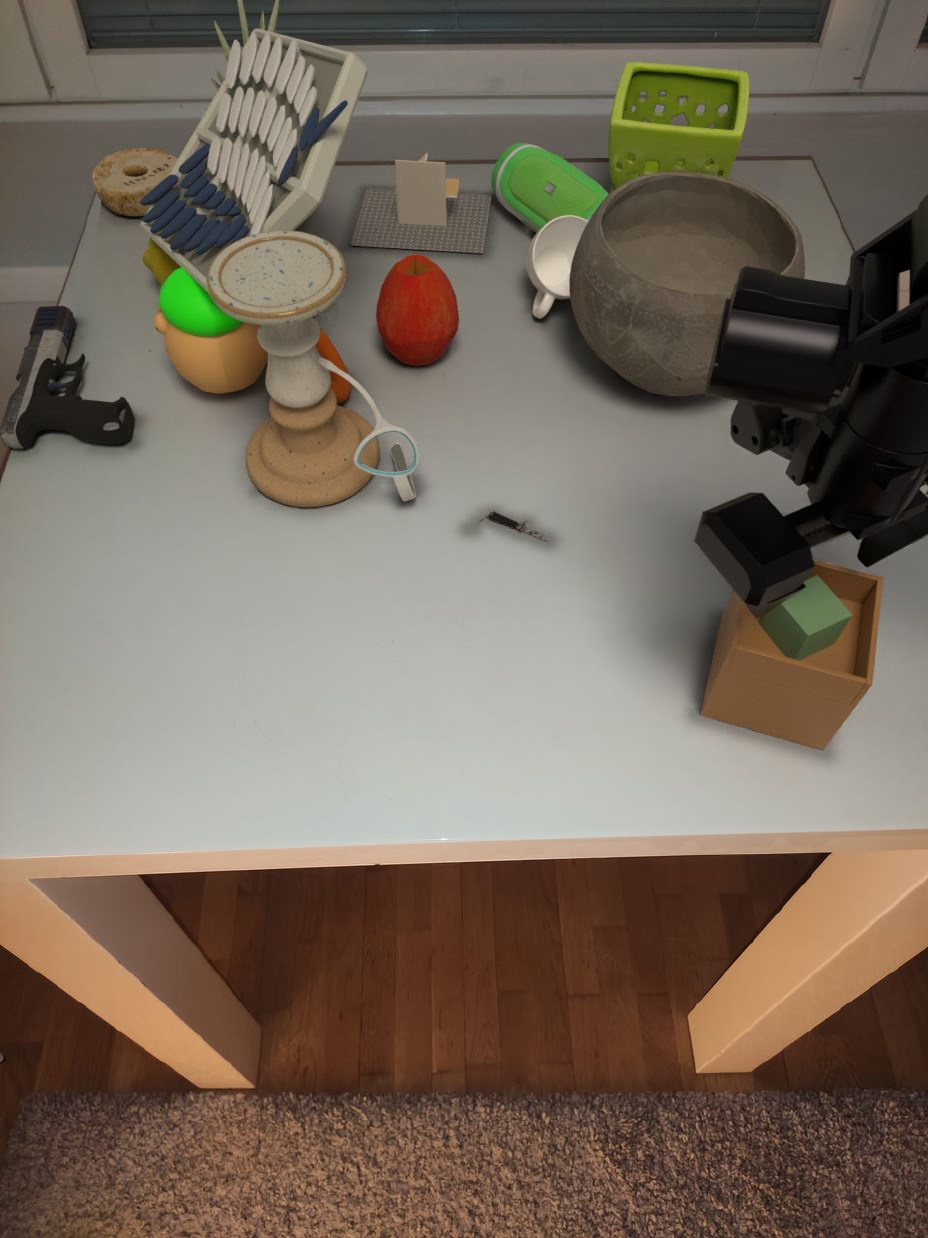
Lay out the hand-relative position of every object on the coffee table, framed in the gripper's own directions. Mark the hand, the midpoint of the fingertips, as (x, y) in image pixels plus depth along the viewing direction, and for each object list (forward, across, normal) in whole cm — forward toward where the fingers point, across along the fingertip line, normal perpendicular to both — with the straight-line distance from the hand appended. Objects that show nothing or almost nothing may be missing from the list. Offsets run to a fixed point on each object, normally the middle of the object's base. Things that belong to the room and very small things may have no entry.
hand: (809, 586), depth 62 cm
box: (+12, 0, +1) cm, 12 cm away
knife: (+12, +12, -21) cm, 27 cm away
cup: (+11, -9, -50) cm, 52 cm away
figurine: (+12, +27, -52) cm, 60 cm away
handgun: (+10, +34, -55) cm, 66 cm away
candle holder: (+12, +23, -38) cm, 46 cm away
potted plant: (+12, +13, -76) cm, 78 cm away
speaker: (+6, -18, -58) cm, 61 cm away
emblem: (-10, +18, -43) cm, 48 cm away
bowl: (+12, -13, -34) cm, 39 cm away
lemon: (+12, +25, -66) cm, 72 cm away
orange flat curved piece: (+12, +17, -45) cm, 50 cm away
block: (+5, 0, +1) cm, 5 cm away
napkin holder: (+12, -2, -67) cm, 68 cm away
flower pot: (+12, -28, -57) cm, 65 cm away
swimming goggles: (+6, +21, -32) cm, 39 cm away
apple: (+12, +8, -47) cm, 49 cm away
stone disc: (+10, +24, -82) cm, 86 cm away
